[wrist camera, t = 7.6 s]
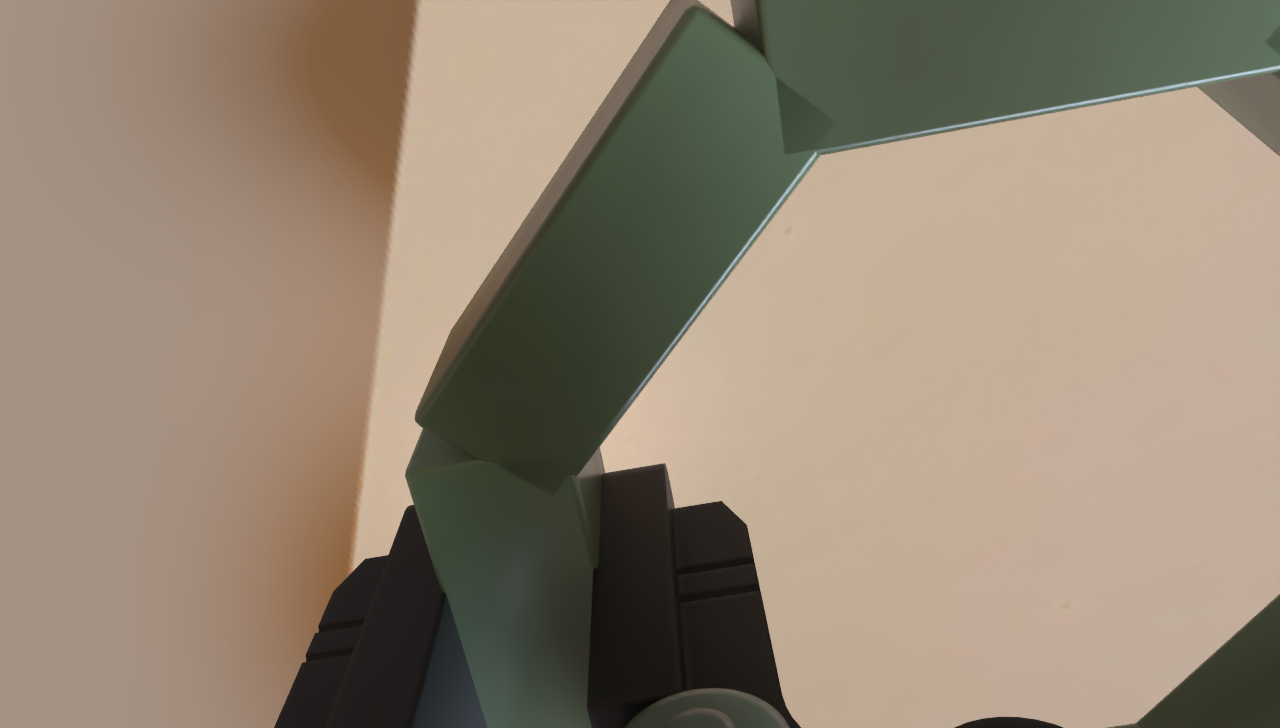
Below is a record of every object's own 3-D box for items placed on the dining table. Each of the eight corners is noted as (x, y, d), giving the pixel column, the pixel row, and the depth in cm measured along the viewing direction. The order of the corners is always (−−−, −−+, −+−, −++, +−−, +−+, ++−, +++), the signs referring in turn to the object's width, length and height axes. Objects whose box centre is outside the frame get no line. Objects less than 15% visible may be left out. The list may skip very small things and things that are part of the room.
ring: (586, 886, 13) (579, 1044, 11) (344, 29, 9) (272, 54, 7) (1439, 763, 12) (1582, 908, 11) (1604, -216, 8) (1885, -261, 6)
